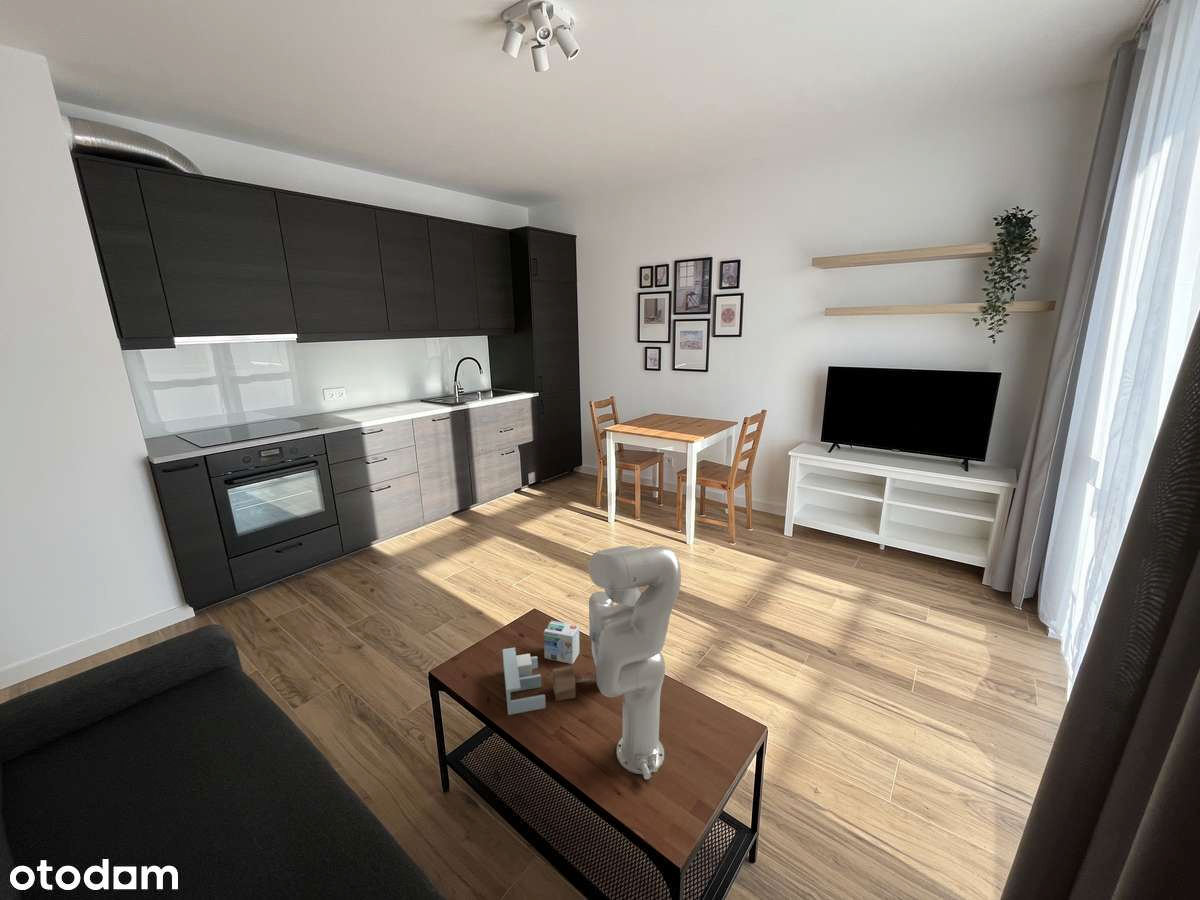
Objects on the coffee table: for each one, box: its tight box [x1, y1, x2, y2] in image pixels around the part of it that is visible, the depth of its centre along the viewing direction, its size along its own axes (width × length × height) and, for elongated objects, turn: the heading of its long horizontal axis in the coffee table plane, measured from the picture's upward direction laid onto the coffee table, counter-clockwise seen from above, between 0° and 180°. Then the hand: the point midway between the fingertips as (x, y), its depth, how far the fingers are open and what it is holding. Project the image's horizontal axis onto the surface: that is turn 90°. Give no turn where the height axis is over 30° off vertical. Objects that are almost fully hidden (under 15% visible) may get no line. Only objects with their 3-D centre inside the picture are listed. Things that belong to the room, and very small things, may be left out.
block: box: [516, 653, 533, 678], centre depth 159 cm, size 6×6×7 cm
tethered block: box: [552, 665, 596, 702], centre depth 154 cm, size 6×16×7 cm, turn 105°
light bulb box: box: [543, 620, 580, 665], centre depth 170 cm, size 11×7×11 cm, turn 73°
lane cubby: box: [502, 647, 547, 716], centre depth 154 cm, size 19×11×9 cm, turn 14°
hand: (601, 682), depth 156 cm, fingers closed on tethered block, 2 cm apart
